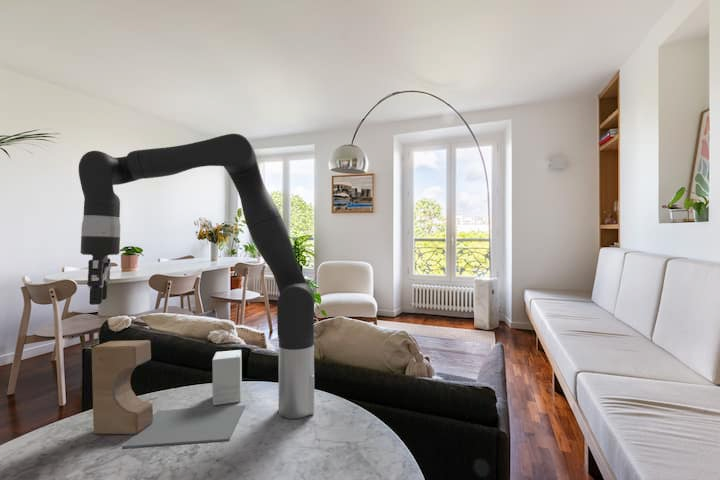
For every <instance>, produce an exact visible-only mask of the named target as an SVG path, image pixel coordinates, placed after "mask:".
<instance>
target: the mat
mask: <svg viewBox="0 0 720 480" xmlns="http://www.w3.org/2000/svg"><path fill="white" fill-rule="evenodd" d="M245 406H246V405H245V404H244V405H231V406H230V405H225V406H213V407H211V406H210V407H195V408H193V407H192V408H178V409H177V408H176V409H163V410H162V409H161V410H157V411H156V412H155V413H154V414H153V422H152V423H151V424H150V425H148V426H147V427H146V428H144V429H143V430H142V431H140V432H139V433H137V434H132V436H131V437H130V438H129V439H128V440H127V441H126V442H125V443H124V444H123V445H122V449H127V448H128V449H129V448H130V449H131V448H141V447H142V448H143V447H144V448H145V447H158V446H169V445H170V446H171V445H185V444H196V443H197V444H199V443H211V442H212V443H213V442H226V441H230V440H231V437H232V436H233V434H234V431H235V430H236V427H237V425H238V423H239V420H240V418H241V416H242V414H243V412H244V410H245Z"/></svg>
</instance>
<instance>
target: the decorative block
mask: <svg viewBox="0 0 720 480" xmlns="http://www.w3.org/2000/svg"><path fill="white" fill-rule="evenodd" d="M151 348H152V345H151V340H149V339H145V340H144V339H143V340H110V341H107V342H103V343H101V344H100V343H99V344H97V345H94V346H92V348H91V373H92V375H91V377H92V382H91V383H92V418H93V419H92V422H93V434H94V435H134V434H137V433H139V432H140V431H142V430H143V429H144V428H146V427H147V426H148V425H150V424H151V423H152V422H153V415H154V414H153V413H154V411H153V408H154V407H153V403H152V402H148V401H144V400H142V399H141V398H139V397H138V396H137V395H136V394H135V392H134V391H133V389H132V385H131V377H132V374H133V372H134V370H135V369H136V368H137V367H138V366H141V365H143V364H145V363H147V362H150V361H151V359H152V349H151Z"/></svg>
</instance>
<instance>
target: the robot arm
mask: <svg viewBox="0 0 720 480" xmlns="http://www.w3.org/2000/svg"><path fill="white" fill-rule="evenodd" d="M202 167H223V168H224V169H225V171H226V172H227V173H228V175H229V177H230V178H231V181H232V183H233V185H234V186H235V189H236V190H237V194H238V196H239V199H240V203H241V209H242V213H243V216H244V220H245V224H246V227H247V229H248V232H249V234H250V237H251V238H252V239H251V240H252V242H253V244H254V245H255V248H256V249H257V251H258V253H259V254H260V256H261V257H262V259H263V260H264V262H265V264H266V265H267V266H268V267H269V269H270V272H271V273H272V276H273V278H274V280H275V283H276V286H277V289H278V294H279V296H278V298H277V302H276V303H277V306H276V309H277V311H276V313H277V314H276V315H277V317H276V319H277V320H276V321H277V323H276V324H277V338H278V414H279V416H280V417H283V418H285V419H291V420H294V419H302V418H305V417H308V416H313V415H315V326H314V325H315V323H314V321H315V316H314V315H315V314H314V313H315V308H314V307H315V305H314V304H315V294H314V292H313V290H312V288H311V287H310V285H309V283H308V281H307V280H306V278H305V276H304V274H303V272H302V270H301V268H300V265H299V264H298V261H297V257H296V256H295V255H296V254H295V251H294V248H293V245H292V242H291V239H290V238H291V237H290V235H289V232H288V229H287V227H286V225H285V222H284V221H283V217H282V216H281V213H280V211H279V209H278V206H277V205H276V202H275V201H274V199H273V198H272V196H271V194H270V193H269V191H268V189H267V188H266V185H265V182H264V180H263V178H262V174H261V172H260V167H259V163H258V160H257V155H256V151H255V149H254V147H253V145H252V143H251V141H250V140H249V139H248V138H247V137H246V136H244V135H242V134H240V133H228V134H224V135H223V134H222V135H219V136H215V137H213V138H212V137H211V138H209V139H205V140H201V141H200V140H199V141H196V142H195V141H194V142H191V143H186V144H179V145H174V146H168V147H167V146H166V147H159V148H158V147H157V148H156V147H155V148H149V149H148V148H145V149H137V150H133V151H130V152H128V153H127V155H125V156H122V157H120V156H119V157H114V156H111V155H109V154H108V153H106V152H103V151H99V150H90V151H88V152H85V153H84V154H83V155H82V156H81V158H80V161H79V163H78V176H79V182H80V186H81V190H82V194H83V197H84V202H83V217H82V223H81V229H80V230H81V231H80V233H81V235H80V254H81V255H85V256H87V255H88V256H91V257H92V258H91V259H89V260H88V262H87V263H88V265H87V269H88V270H87V271H88V272H87V283H86V285H87V287H88V289H89V303H88V304H89V305H91V306H94V305H95V306H96V305H101V304H102V303H103V300H106V299H107V297H108V285H109V283H110V280H111V278H110V277H111V268H112V262H111V258H110V257H109V256H117V255H119V254H120V249H121V248H120V247H121V246H120V244H121V243H120V242H121V222H120V221H121V220H120V215H121V214H120V213H121V200H120V197H119V196H118V195H117V194H116V193H115V191H114V186H116V185H117V186H118V185H124V184H128V183H131V182H135V181H139V180H141V179H154V178H161V177H162V178H163V177H169V176H173V175H177V174H180V173H183V172H185V171H188V170H192V169H196V168H202Z"/></svg>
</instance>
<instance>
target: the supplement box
mask: <svg viewBox="0 0 720 480" xmlns="http://www.w3.org/2000/svg"><path fill="white" fill-rule="evenodd" d="M211 359H212V360H211V361H212V363H211V364H212V365H211V366H212V406H219V405H225V404H232V403H233V404H234V403H240V402H241V398H242V392H243V385H242V383H243V381H242V379H243V378H242V377H243V375H242V373H243V372H242V369H243V368H242V366H243V365H242V364H243V363H242V361H243V360H242V349H234V350H225V351H224V350H223V351H216V352H215V353H214V356H213V358H211Z"/></svg>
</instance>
